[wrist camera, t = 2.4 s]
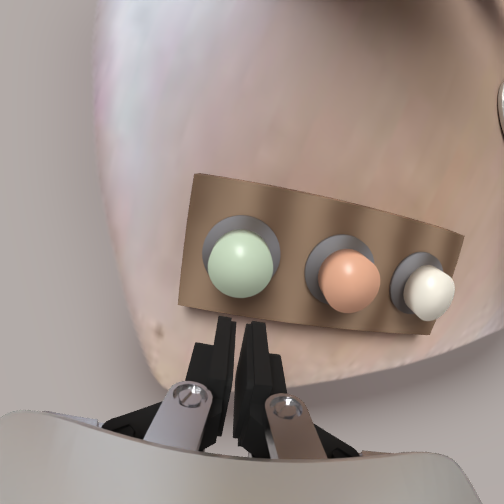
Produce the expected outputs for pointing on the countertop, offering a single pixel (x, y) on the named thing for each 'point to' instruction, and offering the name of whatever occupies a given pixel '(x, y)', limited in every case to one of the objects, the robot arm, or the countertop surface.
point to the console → (309, 253)
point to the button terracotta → (348, 280)
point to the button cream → (429, 292)
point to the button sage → (240, 264)
